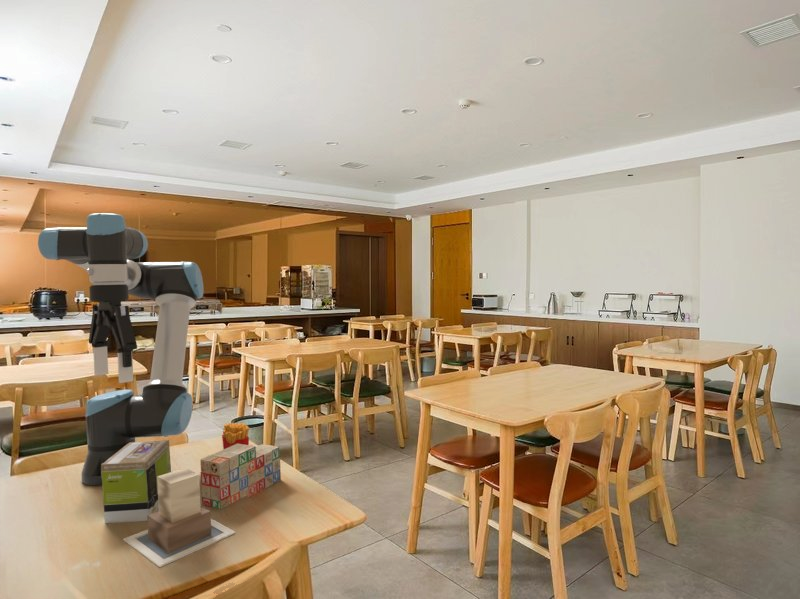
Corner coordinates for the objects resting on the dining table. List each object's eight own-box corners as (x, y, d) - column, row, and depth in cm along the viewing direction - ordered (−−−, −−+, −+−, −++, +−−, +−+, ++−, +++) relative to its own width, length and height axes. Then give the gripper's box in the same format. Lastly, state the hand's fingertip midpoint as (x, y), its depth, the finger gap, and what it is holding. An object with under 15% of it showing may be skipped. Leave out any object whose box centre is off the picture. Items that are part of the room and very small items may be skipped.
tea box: (132, 498, 128) (129, 440, 127) (173, 496, 129) (171, 438, 128) (103, 528, 113) (99, 462, 112) (150, 525, 114) (147, 460, 113)
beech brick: (158, 514, 106) (157, 476, 106) (186, 503, 111) (185, 467, 111) (172, 522, 102) (170, 483, 102) (200, 511, 107) (199, 474, 107)
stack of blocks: (263, 476, 141) (261, 432, 140) (281, 480, 138) (279, 435, 137) (201, 509, 122) (199, 458, 121) (220, 514, 119) (219, 462, 118)
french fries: (220, 468, 147) (218, 424, 146) (231, 463, 151) (230, 420, 150) (242, 474, 142) (241, 428, 142) (254, 469, 146) (252, 424, 145)
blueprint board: (123, 544, 106) (123, 538, 106) (196, 515, 118) (196, 510, 118) (159, 572, 96) (159, 566, 96) (235, 537, 108) (235, 531, 108)
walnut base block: (148, 538, 106) (147, 515, 106) (189, 521, 113) (188, 499, 113) (168, 553, 101) (167, 528, 100) (211, 534, 107) (210, 511, 107)
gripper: (70, 284, 119) (74, 374, 120) (113, 284, 103) (118, 388, 104) (104, 283, 125) (109, 369, 126) (151, 283, 109) (155, 382, 110)
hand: (113, 378), depth 115 cm, fingers open, 13 cm apart
